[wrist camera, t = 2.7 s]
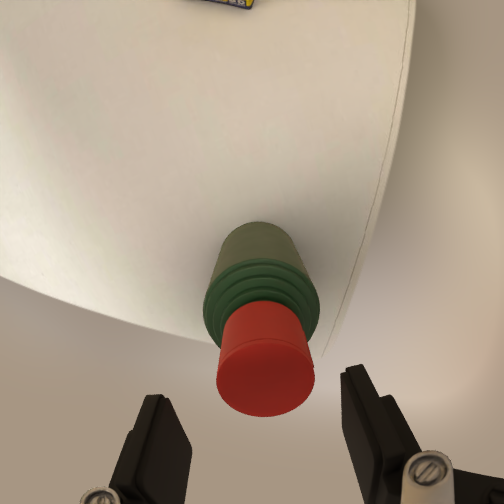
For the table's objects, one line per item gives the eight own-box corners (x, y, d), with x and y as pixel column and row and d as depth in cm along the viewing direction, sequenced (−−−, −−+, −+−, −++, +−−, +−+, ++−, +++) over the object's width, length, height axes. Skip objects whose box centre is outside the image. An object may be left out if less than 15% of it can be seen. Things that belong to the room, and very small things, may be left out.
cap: (298, 293, 15) (311, 334, 11) (307, 359, 16) (319, 408, 12) (215, 307, 15) (205, 351, 11) (232, 371, 16) (228, 421, 12)
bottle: (290, 215, 26) (340, 290, 11) (301, 288, 28) (346, 416, 13) (212, 229, 26) (163, 319, 11) (228, 300, 28) (207, 436, 13)
